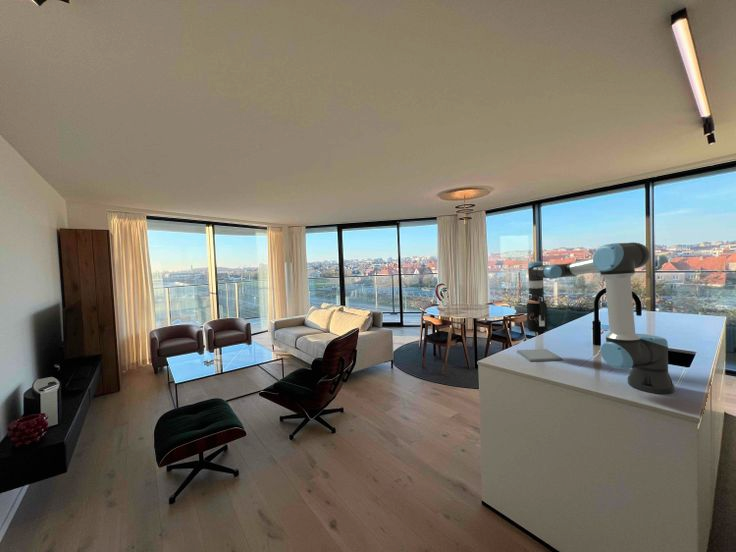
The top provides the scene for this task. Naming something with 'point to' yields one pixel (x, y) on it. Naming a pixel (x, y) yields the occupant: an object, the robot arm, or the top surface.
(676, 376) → the top surface
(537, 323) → the coffee jar
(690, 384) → the top surface
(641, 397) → the top surface
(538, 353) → the plate
